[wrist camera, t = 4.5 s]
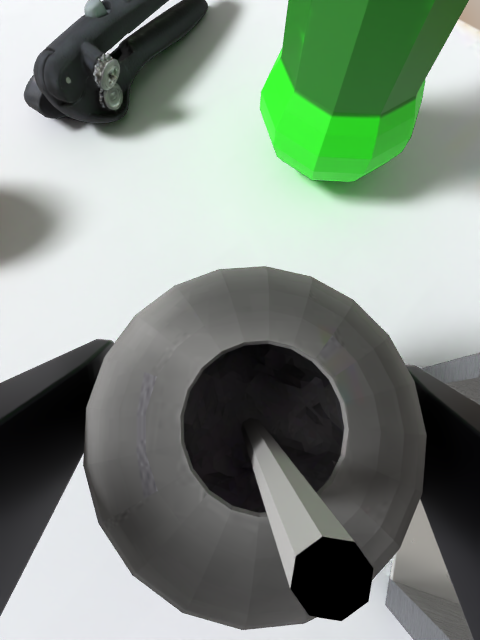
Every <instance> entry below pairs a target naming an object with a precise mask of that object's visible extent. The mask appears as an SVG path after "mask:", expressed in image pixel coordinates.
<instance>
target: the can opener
mask: <svg viewBox="0 0 480 640" xmlns="http://www.w3.org/2000/svg"><path fill="white" fill-rule="evenodd" d="M167 1H169V0H103V1H102V2H101V1H100V0H89V1H88V2H87V3H86V5H85V15H84V16H82V17H81V18H80V19H78V20H77V21H76V22H75V23H74V24H72V25H71V26H70V27H69V28H68V29H67V30H66V31H64V32H63V33H62V34H61V35H60V36H59V37H58V38H56V39H55V40H54V41H53V42H52V43H51V44H50V45H49V46H48V47H47V48H46V49H45V50H43V51H42V52H41V53H40V54H39V56H38V57H37V59H36V62H35V65H34V75H33V76H32V78H30V81H28V84H27V85H26V89H25V91H24V98H25V101H26V103H27V104H28V105H29V106H30V107H32V108H33V109H35V110H36V111H38V112H39V113H41V114H42V115H44V116H45V117H48V118H55V119H57V118H62V117H65V116H68V117H70V118H73V119H76V120H79V121H83V122H89V123H107V122H113V121H116V120H119V119H120V118H122V117H123V116H124V115H125V114H126V112H127V110H128V105H129V89H130V86H131V84H132V82H133V80H134V78H135V76H136V75H137V73H138V71H139V70H140V69H141V67H142V66H143V65H144V64H145V63H147V62H148V61H149V60H150V59H152V58H153V57H154V56H156V55H157V54H158V53H160V52H161V51H163V50H164V49H166V48H167V47H169V46H170V45H172V44H173V43H175V42H176V41H178V40H179V39H181V38H182V37H183V36H184V35H186V34H187V33H188V32H189V31H190V30H191V29H192V28H193V27H194V26H195V25H196V24H197V23H198V22H199V20H200V19H201V18H202V17H203V16H204V14H205V12H206V11H207V8H208V4H207V2H206V1H205V0H182V1H181V2H179V3H177V4H176V5H174V6H173V7H171V8H169V9H168V10H166V11H165V12H163V13H162V14H160V15H159V16H158V17H156V18H154V19H153V20H151V21H150V22H149V23H147V24H146V25H144V26H143V27H141V28H140V29H139V30H137V31H136V32H134V33H133V34H132V35H130V36H129V37H127V38H126V39H125V40H123V41H122V42H121V43H120V44H119V46H118V48H116V49H115V50H114V51H113V52H112V53H111V54H108V53H107V55H105V53H106V52H107V51H108V50H110V49H111V48H112V47H113V46H114V45H115V44H116V43H118V42H119V41H120V40H121V39H122V38H123V37H124V36H125V35H126V34H127V33H130V32H131V31H133V30H134V29H135V28H136V27H137V26H139V25H140V24H141V23H142V22H143V21H144V20H146V19H147V18H148V17H149V16H150V15H152V14H153V13H154V12H155V11H156V10H158V9H159V8H160V7H161V6H162V5H164V4H165V3H166V2H167Z"/></svg>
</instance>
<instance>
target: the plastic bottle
mask: <svg viewBox="0 0 480 640" xmlns="http://www.w3.org/2000/svg"><path fill="white" fill-rule="evenodd" d="M468 1H469V0H289V1H288V9H287V17H286V24H285V32H284V40H283V47H282V49H281V51H280V54H279V56H278V58H277V60H276V62H275V64H274V66H273V68H272V70H271V72H270V74H269V76H268V78H267V81H266V83H265V85H264V87H263V89H262V91H261V101H260V110H261V113H262V116H263V119H264V122H265V125H266V128H267V130H268V133H269V136H270V139H271V141H272V144H273V147H274V150H275V152H276V155H277V157H278V158H280V159H281V160H282V161H283V162H285V163H287V164H288V165H290V166H291V167H293V168H294V169H296V170H297V171H299V172H300V173H302V174H303V175H305V176H306V177H308V178H309V179H311V180H323V181H342V182H351V181H356V180H357V179H359V178H361V177H363V176H364V175H366V174H368V173H370V172H371V171H373V170H375V169H376V168H378V167H380V166H382V165H383V164H385V163H387V162H388V161H390V160H391V159H393V158H394V157H396V156H397V155H398V154H400V153H401V152H402V151H403V149H404V148H405V146H406V144H407V143H408V141H409V140H410V138H411V136H412V132H413V129H414V126H415V122H416V119H417V115H418V112H419V108H420V105H421V101H422V97H423V91H424V85H425V78H426V76H427V74H428V73H429V71H430V69H431V67H432V65H433V64H434V62H435V60H436V58H437V57H438V55H439V53H440V51H441V49H442V48H443V46H444V44H445V42H446V40H447V39H448V37H449V35H450V33H451V31H452V30H453V28H454V26H455V24H456V22H457V21H458V19H459V17H460V15H461V14H462V12H463V10H464V8H465V6H466V5H467V3H468Z"/></svg>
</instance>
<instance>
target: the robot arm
mask: <svg viewBox="0 0 480 640" xmlns="http://www.w3.org/2000/svg"><path fill="white" fill-rule="evenodd" d="M113 345H114V342H113V341H112V340H103V339H96V340H94V341H92V342H89V343H87V344H85V345H83V346H81V347H79V348H76V349H74V350H72V351H70V352H68V353H65V354H63V355H61V356H59V357H57V358H54V359H52V360H50V361H48V362H46V363H43V364H41V365H39V366H37V367H35V368H32V369H30V370H28V371H26V372H24V373H21V374H19V375H17V376H15V377H13V378H10V379H8V380H6V381H4V382H2V383H0V616H1V614H2V612H3V610H4V608H5V606H6V604H7V602H8V600H9V598H10V596H11V594H12V592H13V590H14V589H15V587H16V585H17V583H18V581H19V579H20V577H21V575H22V573H23V571H24V569H25V567H26V565H27V563H28V561H29V559H30V557H31V555H32V553H33V551H34V549H35V547H36V545H37V543H38V541H39V540H40V538H41V536H42V534H43V532H44V530H45V528H46V526H47V524H48V522H49V520H50V518H51V516H52V514H53V512H54V510H55V508H56V506H57V504H58V502H59V500H60V498H61V496H62V494H63V492H64V490H65V489H66V487H67V485H68V483H69V481H70V479H71V477H72V475H73V473H74V471H75V469H76V467H77V465H78V463H79V461H80V459H81V457H82V455H83V453H84V442H85V422H86V407H87V404H88V401H89V399H90V396H91V393H92V390H93V388H94V385H95V382H96V379H97V376H98V374H99V371H100V368H101V365H102V363H103V360H104V357H105V355H106V354H107V353H108V351H109V350H110V349H111V347H112V346H113ZM406 367H407V369H408V371H409V373H410V374H411V376H412V378H413V380H414V382H415V386H416V391H417V395H418V399H419V404H420V408H421V413H422V417H423V422H424V426H425V430H426V435H427V437H426V451H425V465H424V478H423V492H422V495H421V498H420V500H421V503H422V505H423V508H424V510H425V513H426V516H427V518H428V521H429V524H430V526H431V529H432V532H433V534H434V537H435V540H436V542H437V545H438V548H439V550H440V553H441V555H442V558H443V561H444V563H445V566H446V569H447V571H448V574H449V577H450V579H451V582H452V585H453V587H454V590H455V592H456V595H457V598H458V600H459V603H460V606H461V608H462V611H463V614H464V616H465V619H466V622H467V624H468V627H469V630H470V632H471V635H472V637H473V640H480V404H478V403H476V402H475V401H473V400H471V399H470V398H468V397H466V396H465V395H463V394H461V393H460V392H458V391H457V390H455V389H453V388H452V387H450V386H448V385H447V384H445V383H443V382H442V381H440V380H438V379H437V378H435V377H433V376H432V375H430V374H428V373H427V372H425V371H423V370H422V369H420V368H419V367H417V366H412V365H406Z"/></svg>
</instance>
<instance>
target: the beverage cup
mask: <svg viewBox="0 0 480 640" xmlns="http://www.w3.org/2000/svg"><path fill="white" fill-rule="evenodd" d="M426 437H427V435H426V430H425V426H424V422H423V417H422V413H421V408H420V404H419V399H418V395H417V391H416V386H415V382H414V380H413V378H412V376H411V374H410V373H409V371H408V369H407V367H406V365H405V364H404V362H403V360H402V358H401V356H400V355H399V353H398V351H397V349H396V347H395V346H394V344H393V342H392V340H391V338H390V337H389V335H388V334H387V333H386V332H385V331H384V330H383V329H382V328H381V327H380V326H379V325H378V324H377V323H376V322H375V321H374V320H373V319H372V318H371V317H370V316H369V315H368V314H367V313H366V312H365V311H364V310H363V309H362V308H361V307H360V306H359V305H358V304H357V303H356V302H355V301H354V300H353V299H351V298H349V297H347V296H345V295H344V294H342V293H340V292H338V291H336V290H334V289H333V288H331V287H329V286H327V285H325V284H324V283H322V282H320V281H318V280H316V279H314V278H313V277H311V276H306V275H302V274H297V273H293V272H288V271H284V270H279V269H275V268H270V267H266V266H263V267H248V268H233V269H219V270H216V271H213V272H210V273H208V274H205V275H202V276H200V277H197V278H194V279H192V280H189V281H186V282H183V283H181V284H178V285H175V286H174V287H172V288H171V289H170V290H168V291H167V292H166V293H164V294H163V295H162V296H160V297H159V298H158V299H156V300H155V301H154V302H152V303H151V304H150V305H148V306H147V307H146V308H144V309H143V310H142V311H140V312H139V313H138V314H136V315H135V316H134V318H133V319H132V320H131V322H130V323H129V324H128V326H127V327H126V328H125V330H124V331H123V332H122V334H121V335H120V337H119V338H118V339H117V341H116V342H115V343H114V345H113V346H112V347H111V349H110V350H109V351H108V353H107V354H106V355H105V357H104V360H103V363H102V365H101V368H100V371H99V374H98V376H97V379H96V382H95V385H94V388H93V390H92V393H91V396H90V399H89V401H88V404H87V407H86V422H85V442H84V462H83V466H84V470H85V473H86V477H87V481H88V485H89V489H90V492H91V496H92V500H93V504H94V508H95V512H96V515H97V519H98V523H99V525H100V526H101V528H102V529H103V531H104V532H105V534H106V535H107V537H108V538H109V540H110V542H111V543H112V545H113V546H114V548H115V549H116V551H117V552H118V554H119V555H120V557H121V558H122V560H123V561H124V563H125V564H126V566H127V567H128V569H129V571H130V572H131V574H132V575H133V576H134V577H136V578H137V579H138V580H140V581H141V582H142V583H144V584H145V585H146V586H148V587H149V588H150V589H152V590H153V591H154V592H156V593H157V594H158V595H160V596H161V597H162V598H164V599H165V600H166V601H168V602H169V603H170V604H172V605H173V606H174V607H176V608H177V609H178V610H179V611H181V612H182V613H185V614H189V615H192V616H196V617H199V618H203V619H206V620H210V621H213V622H217V623H220V624H224V625H227V626H231V627H234V628H238V629H241V630H247V629H256V628H266V627H275V626H285V625H294V624H304V623H306V622H308V621H310V620H312V619H314V618H316V617H319V618H326V619H332V620H338V621H342V620H344V619H345V618H347V617H348V616H349V615H351V614H352V613H353V612H355V611H356V610H357V609H359V608H360V607H362V606H363V605H364V604H366V603H367V602H368V601H369V594H370V588H371V582H372V580H373V579H374V577H375V576H376V575H377V574H378V573H379V572H380V571H381V569H382V568H383V567H384V566H385V565H386V564H387V563H388V562H389V560H390V559H391V558H392V557H393V556H394V555H395V554H396V552H397V551H398V550H399V549H400V547H401V545H402V542H403V540H404V537H405V535H406V532H407V530H408V527H409V525H410V522H411V520H412V518H413V515H414V513H415V510H416V508H417V505H418V503H419V500H420V498H421V495H422V492H423V478H424V465H425V451H426Z"/></svg>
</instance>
